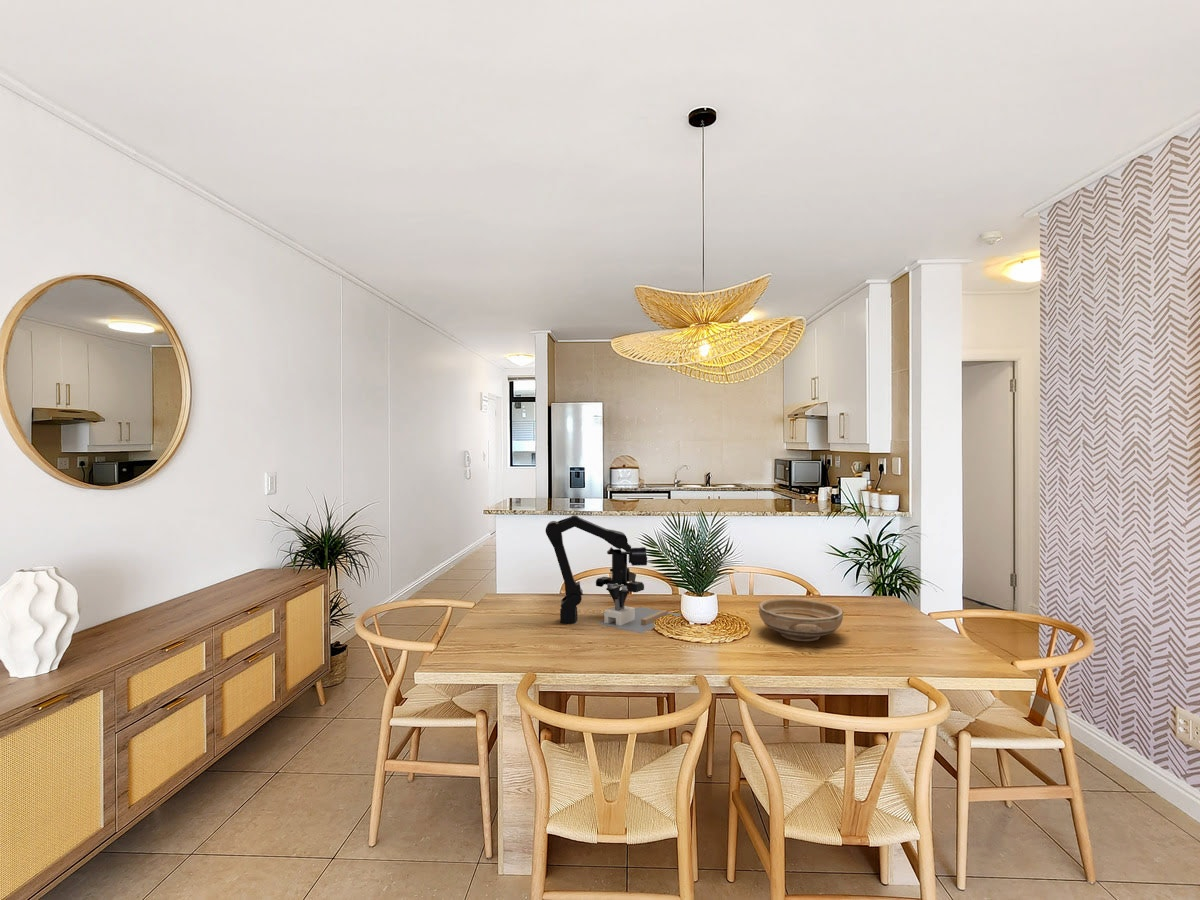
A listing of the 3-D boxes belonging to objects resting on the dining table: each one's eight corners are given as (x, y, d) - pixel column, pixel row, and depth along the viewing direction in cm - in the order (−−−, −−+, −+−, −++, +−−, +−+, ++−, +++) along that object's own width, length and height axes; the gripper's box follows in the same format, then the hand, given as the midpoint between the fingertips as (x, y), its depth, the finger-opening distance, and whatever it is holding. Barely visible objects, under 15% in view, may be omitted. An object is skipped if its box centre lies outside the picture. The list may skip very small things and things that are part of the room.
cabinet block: (619, 625, 225) (619, 602, 225) (604, 622, 230) (604, 599, 230) (634, 619, 234) (634, 597, 234) (619, 616, 238) (619, 594, 238)
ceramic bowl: (854, 655, 195) (854, 624, 195) (762, 650, 201) (762, 620, 201) (832, 623, 232) (832, 596, 232) (754, 619, 237) (754, 593, 237)
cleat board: (641, 636, 216) (641, 627, 216) (596, 626, 228) (596, 618, 228) (682, 617, 240) (682, 609, 240) (639, 609, 252) (639, 602, 252)
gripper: (651, 565, 232) (651, 606, 233) (611, 560, 244) (611, 599, 244) (635, 569, 224) (635, 612, 224) (594, 564, 235) (594, 605, 235)
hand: (619, 607), depth 232 cm, fingers closed on cabinet block
